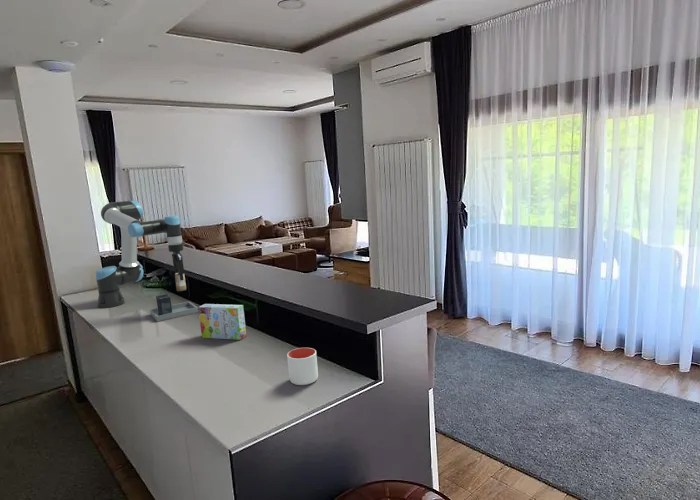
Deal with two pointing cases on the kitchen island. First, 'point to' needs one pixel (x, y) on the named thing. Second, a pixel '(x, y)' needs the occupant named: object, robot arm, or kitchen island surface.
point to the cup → (302, 366)
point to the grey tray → (175, 311)
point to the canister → (179, 288)
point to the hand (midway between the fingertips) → (181, 284)
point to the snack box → (222, 321)
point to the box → (164, 304)
